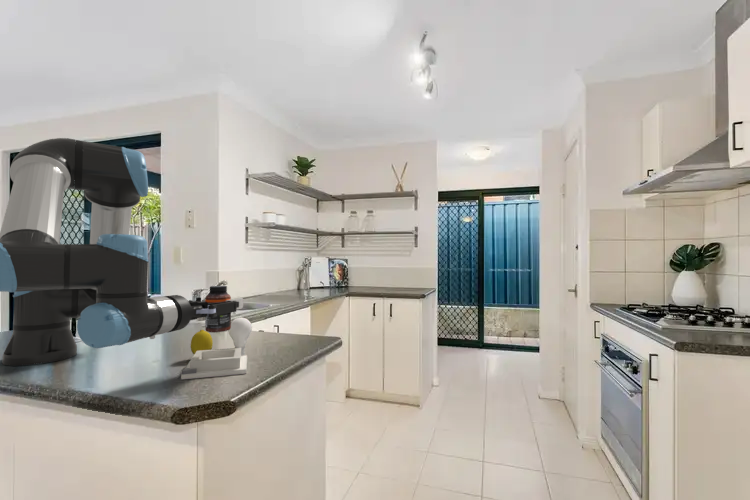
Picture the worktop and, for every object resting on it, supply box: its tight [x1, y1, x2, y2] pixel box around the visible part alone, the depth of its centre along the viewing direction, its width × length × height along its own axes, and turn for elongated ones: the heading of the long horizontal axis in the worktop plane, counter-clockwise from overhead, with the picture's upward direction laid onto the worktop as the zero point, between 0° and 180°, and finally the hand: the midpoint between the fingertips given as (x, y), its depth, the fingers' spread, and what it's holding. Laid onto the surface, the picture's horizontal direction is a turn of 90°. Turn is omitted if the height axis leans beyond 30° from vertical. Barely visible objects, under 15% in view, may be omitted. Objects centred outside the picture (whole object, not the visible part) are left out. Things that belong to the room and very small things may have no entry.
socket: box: [180, 347, 248, 380], centre depth 91 cm, size 14×14×4 cm
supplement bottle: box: [204, 285, 232, 333], centre depth 92 cm, size 6×6×11 cm
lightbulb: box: [227, 317, 253, 356], centre depth 102 cm, size 6×6×11 cm
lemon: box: [190, 329, 214, 355], centre depth 100 cm, size 6×6×8 cm
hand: (230, 302), depth 97 cm, fingers closed on supplement bottle, 6 cm apart
